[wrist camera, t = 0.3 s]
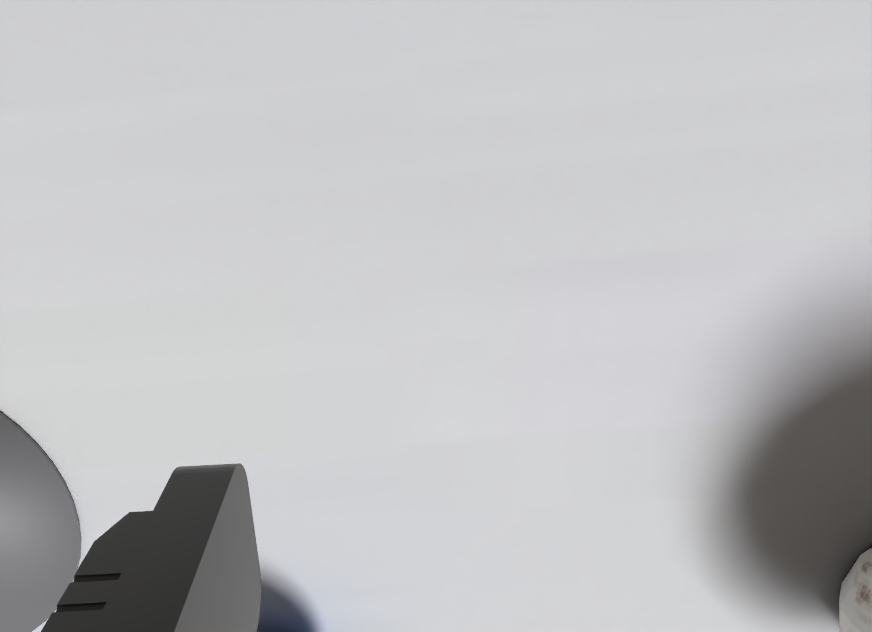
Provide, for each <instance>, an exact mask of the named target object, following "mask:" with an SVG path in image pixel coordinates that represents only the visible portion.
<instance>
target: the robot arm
mask: <svg viewBox="0 0 872 632" xmlns="http://www.w3.org/2000/svg"><path fill="white" fill-rule="evenodd" d="M260 604H261V576H260V566H259V559H258V552H257V545H256V538H255V531H254V523H253V516H252V509H251V502H250V495H249V488H248V481H247V476H246V472H245V469H244V467H243V466H242V464H223V465H204V466H185V467H177V468H176V469H175V470H174V471H173V473H172V475H171V477H170V479H169V481H168V483H167V485H166V487H165V489H164V490H163V492H162V494H161V496H160V498H159V500H158V502H157V504H156V506H155V508H154V510H153V511H144V512H129V513H128V514H127V515H126V516H124V517H123V518H122V519H121V520H120V521H118V522H117V523H116V524H115V525H114V526H112V527H111V528H110V529H109V530H108V531H106V532H105V533H104V534H103V535H102V536H100V537H99V538H98V539H97V540H96V541H94V543H93V545H92V546H91V548H90V550H89V551H88V553H87V555H86V557H85V558H84V560H83V562H82V563H81V565H80V567H79V568H78V570H77V572H76V573H75V575H74V582H73V583H69V585H68V587H67V589H66V590H65V592H64V594H63V595H62V597H61V599H60V600H59V602H58V604H57V611H56V612H55V613H52V614H51V616H50V617H49V619H48V621H47V622H46V624H45V626H44V627H43V629H42V631H41V632H257V627H258V622H259V615H260Z"/></svg>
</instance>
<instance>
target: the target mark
mask: <svg viewBox="0 0 872 632" xmlns="http://www.w3.org/2000/svg"><path fill="white" fill-rule="evenodd" d="M80 553H81V532H80V524H79V518H78V515H77V511H76V508H75V504H74V501H73V499H72V496H71V494H70V492H69V490H68V487H67V485H66V483H65V481H64V480H63V478H62V476H61V475H60V473H59V472H58V470H57V468H56V467H55V465H54V464H53V462H52V461H51V460H50V459H49V457H48V456H47V455H46V454H45V452H44V451H43V450H42V449H41V447H40V446H39V445H38V444H37V443H36V442H35V441H34V440H33V439H32V438H31V437H30V436H29V435H28V434H27V433H26V432H25V431H24V430H23V429H22V428H21V427H19V426H18V425H17V424H15V423H14V422H13V421H12V420H10V419H9V418H8V417H6V416H5V415H4V414H3V413H1V412H0V632H32V631H33V630H34V629H36V628H37V627H38V626H39V625H41V624H42V623H43V622H45V621H46V620H47V619H48V618H49V617H50V616H51V614H52V613H53V612H54V611H55V610H56V609H57V604H58V602H59V600H60V599H61V597H62V595H63V594H64V592H65V590H66V589H67V587H68V585H69V583H73V580H74V575H75V573H76V572H77V569H78V564H79V560H80Z"/></svg>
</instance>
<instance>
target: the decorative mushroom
mask: <svg viewBox="0 0 872 632" xmlns="http://www.w3.org/2000/svg"><path fill="white" fill-rule="evenodd" d="M839 631H840V632H872V548H870V549H868V550H867V551H865V552H864V553H862V554H861V555H860V556H859V558H858V559H857V561H856V562H855V564H854V565H853V567H852V568H851V570H850V571H849V573H848V575H847V576H846V578H845V579H844V581H843V582H842V584H841V592H840V597H839Z"/></svg>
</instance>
